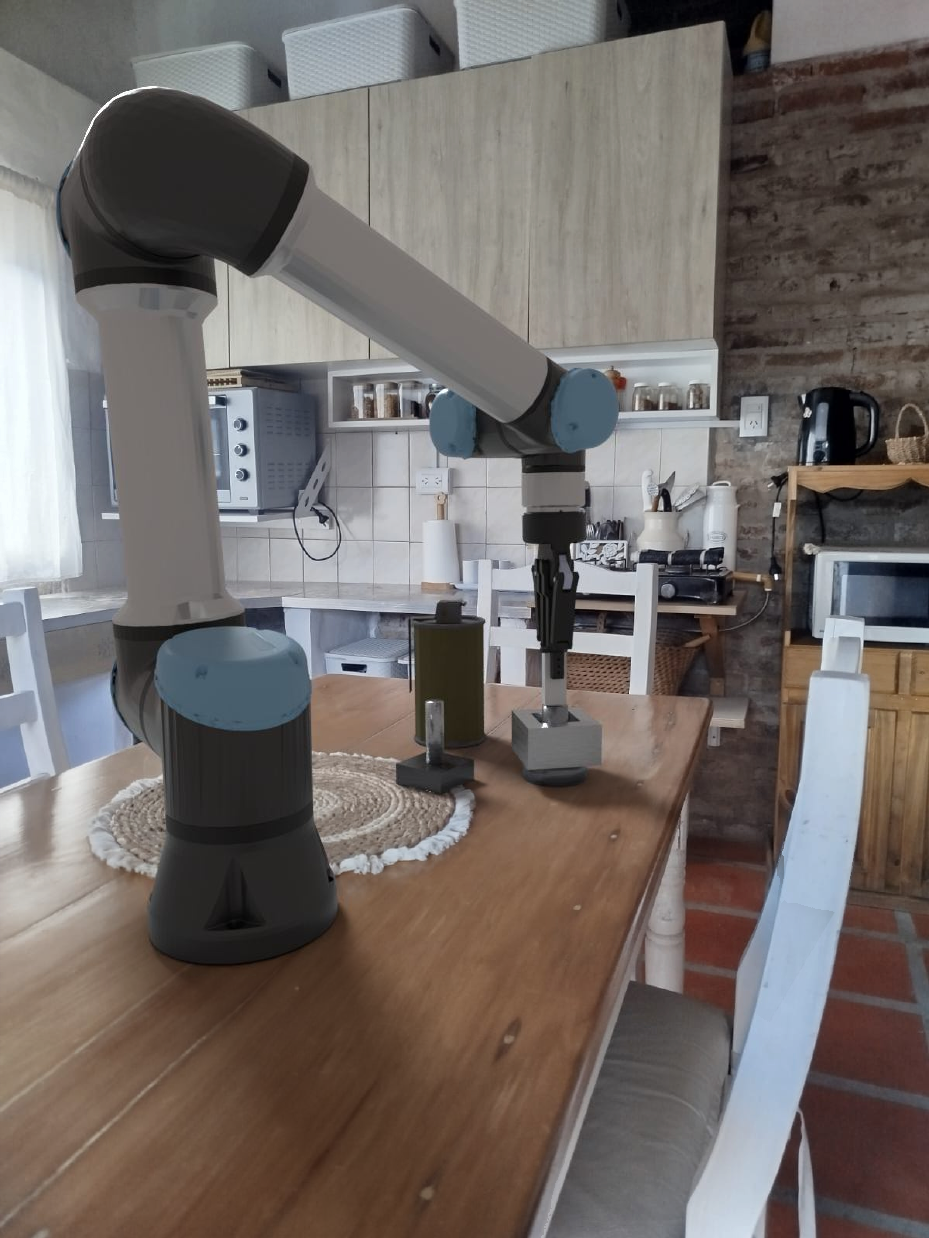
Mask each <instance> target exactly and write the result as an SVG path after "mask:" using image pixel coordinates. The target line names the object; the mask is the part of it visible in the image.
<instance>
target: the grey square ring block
mask: <svg viewBox="0 0 929 1238" xmlns="http://www.w3.org/2000/svg"><path fill="white" fill-rule="evenodd" d="M602 732H603V724H602V723H601V722H599V721H598V720H596V719H595V718H594V716H591V715H590V713H588V712H587V711H586V710H585V709H583V708H582V707H581V706H574V707H573V706H571V707H570V706H568V722H559V723H542V708H528V709H527V708H526V709H525V708H524V709H511V750H513V752H514V753H515V754H516V756H517V757H518V759H519V760H520V762H521V763H523V764H524V765H525V767H526V768H527V769H528V770H534V769H551V768H568V767H585V766H587V767H598V766H599V767H600V766H602V753H603V752H602V745H603V744H602V740H603V738H602V737H603V734H602Z"/></svg>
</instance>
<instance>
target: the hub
mask: <svg viewBox="0 0 929 1238" xmlns="http://www.w3.org/2000/svg"><path fill="white" fill-rule="evenodd" d="M568 707H569V704H558V705H544V704H543V703H542V704H541V709H542V723H559V722H568ZM521 763H522V762H521ZM521 772H522V778H523V779H524V780H525V781H526V782H529V783H531V784H534V785H538V786H542V787H543V786H544V787H552V788H553V787H559V788H560V787H570V786H571V787H572V786H576V785H579V784H581V783H584V782H585V781H586V780H587V779H588V766H585V767H568V768H551V769H534V770H528V769H527V768H526V767H525V765H524V764H523V763H522V769H521Z"/></svg>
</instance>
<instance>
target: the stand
mask: <svg viewBox="0 0 929 1238" xmlns="http://www.w3.org/2000/svg"><path fill="white" fill-rule="evenodd" d="M425 708H426V746H425V752H422V753H420V754H417V755H415V756H412V757H409V758H406V759H404V760H402V761H399V762H397V763H395V782H396V784H397V785H402V786H406V787H409V788H413V787H415V788H414V789H417V788H418V789H417V790H422V791H425V790H428V791H427V792H429V791H431V792H430V793H433V792H434V794H438V795H442V794H445V793H447V792H449V791H451V790H453V789H456V788H457V787H459V786H462V785H464V784H466V783H468V782H471V781H473V780H474V779H475V758H471V757H465V756H460V755H456V754H451V753H446V752H445V748H444V701H443V700H439V699H431V700H427V701H425Z"/></svg>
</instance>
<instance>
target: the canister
mask: <svg viewBox="0 0 929 1238" xmlns="http://www.w3.org/2000/svg"><path fill="white" fill-rule="evenodd" d="M467 605H468V602H467V601H466V600H465V601H464V600H462V599H460V600H457V599H456V600H455V599H441V600H439V601H438V602H437V603H436V607H435V608H436V609H435V614H434V615H424V616H421V615H419V616H418V615H417V616H411V617H410V618H408V621H407V625H408V627H407V628H408V629H407V630H408V682H409V683H408V684H409V688H408V689H409V694H411V692H412V691H413V681H412V680H413V679H412V677H413V675H412V626H411V625H413V648H414V649H413V654H414V655H413V656H414V658H413V659H414V661H413V662H414V663H413V664H414V665H413V666H414V667H413V669H414V671H413V672H414V725H415V726H414V732H415V733H414V735H413V740H414V741H415V742H416V743H417V744H419V745H421V746H424V747H426V708H425V701H427V700H431V699H439V700H443V701H444V749H461V748H469V747H473V746H476V745H480V744H481V743H483V742H484V741H485V740H486V738H487V734H486V733H485V667H484V666H485V663H484V662H485V655H484V654H485V651H484V650H485V647H484V646H485V645H484V643H485V641H484V638H485V637H484V636H485V635H484V633H485V632H484V631H485V630H484V629H485V628H484V626H485V624H486V623H487V622H486V618H483V617H482V616H475V615H469V614H468V615H467V614H463V613H462V612H463V611H462V610H463V609H462V607H466V606H467ZM411 619H412V621H411Z"/></svg>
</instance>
